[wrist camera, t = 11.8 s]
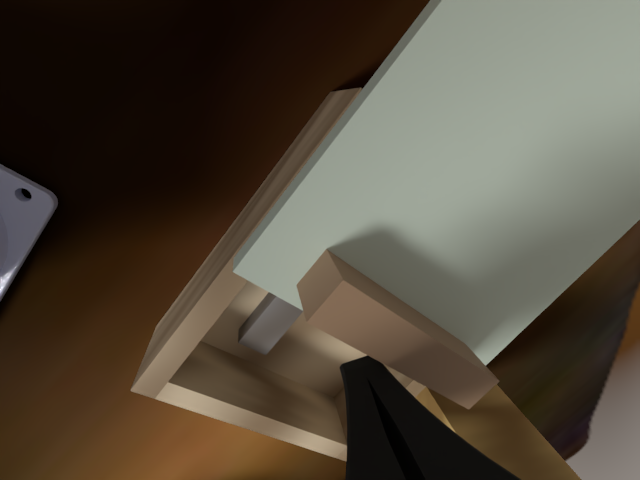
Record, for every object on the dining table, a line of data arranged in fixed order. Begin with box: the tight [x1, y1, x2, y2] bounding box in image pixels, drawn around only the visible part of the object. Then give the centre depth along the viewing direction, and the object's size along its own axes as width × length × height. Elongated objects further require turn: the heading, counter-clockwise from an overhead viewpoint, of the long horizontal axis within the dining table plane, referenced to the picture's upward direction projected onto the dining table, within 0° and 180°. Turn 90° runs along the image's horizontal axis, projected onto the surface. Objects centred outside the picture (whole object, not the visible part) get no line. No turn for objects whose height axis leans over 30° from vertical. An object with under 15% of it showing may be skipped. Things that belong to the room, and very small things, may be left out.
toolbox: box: [130, 87, 426, 461], centre depth 15 cm, size 12×20×4 cm, turn 140°
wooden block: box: [415, 384, 581, 480], centre depth 17 cm, size 4×4×10 cm
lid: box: [233, 0, 640, 409], centre depth 10 cm, size 12×14×3 cm
